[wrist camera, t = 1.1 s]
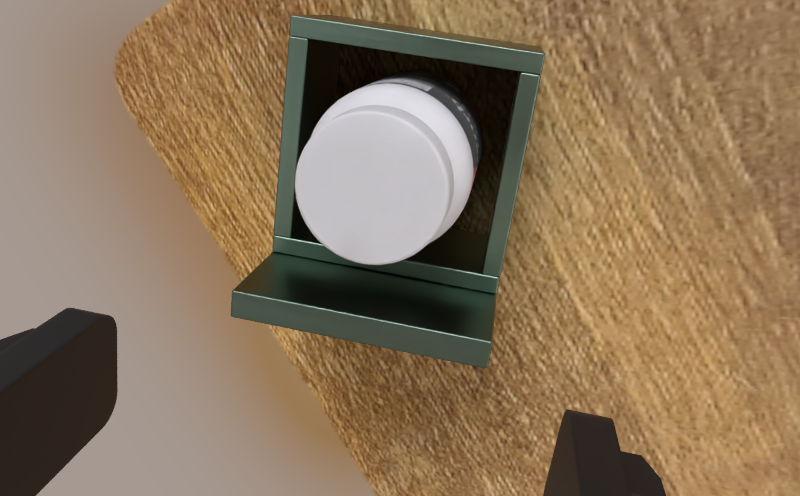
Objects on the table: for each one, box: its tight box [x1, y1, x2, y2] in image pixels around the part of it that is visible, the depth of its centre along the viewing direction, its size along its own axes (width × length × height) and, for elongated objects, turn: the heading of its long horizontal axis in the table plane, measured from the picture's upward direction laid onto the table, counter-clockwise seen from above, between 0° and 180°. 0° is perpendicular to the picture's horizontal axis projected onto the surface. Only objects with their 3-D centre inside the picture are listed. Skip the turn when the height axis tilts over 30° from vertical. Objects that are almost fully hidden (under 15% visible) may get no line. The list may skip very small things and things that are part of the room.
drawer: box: [231, 15, 545, 368], centre depth 25 cm, size 10×9×9 cm
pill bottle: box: [295, 71, 483, 265], centre depth 25 cm, size 6×6×10 cm
